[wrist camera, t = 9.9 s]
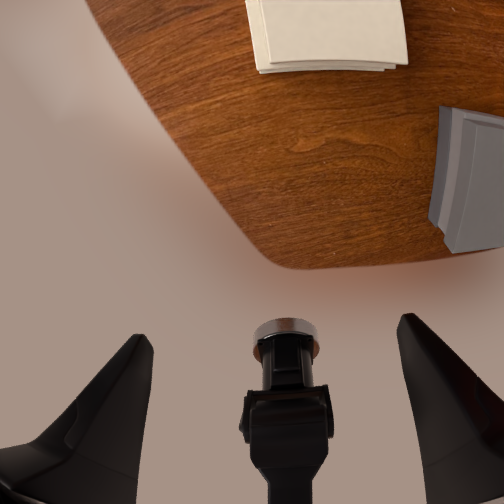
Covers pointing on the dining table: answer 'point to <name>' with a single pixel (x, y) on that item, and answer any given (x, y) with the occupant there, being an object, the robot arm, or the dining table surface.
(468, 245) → the grey pile
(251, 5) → the white pile
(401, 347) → the robot arm
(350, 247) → the dining table surface
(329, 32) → the white block
